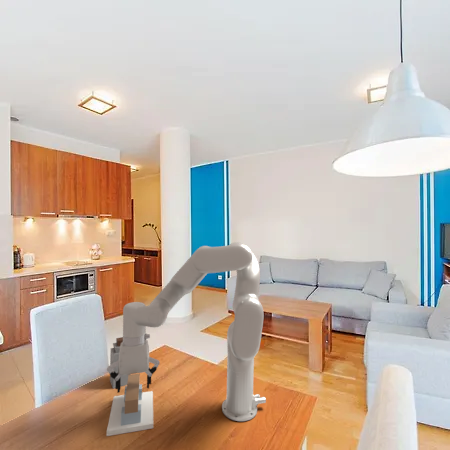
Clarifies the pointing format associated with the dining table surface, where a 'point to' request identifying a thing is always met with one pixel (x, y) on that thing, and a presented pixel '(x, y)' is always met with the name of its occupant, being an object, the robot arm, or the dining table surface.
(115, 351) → the perfume bottle
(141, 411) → the stand
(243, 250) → the robot arm
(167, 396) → the dining table surface
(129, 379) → the long tan plank
